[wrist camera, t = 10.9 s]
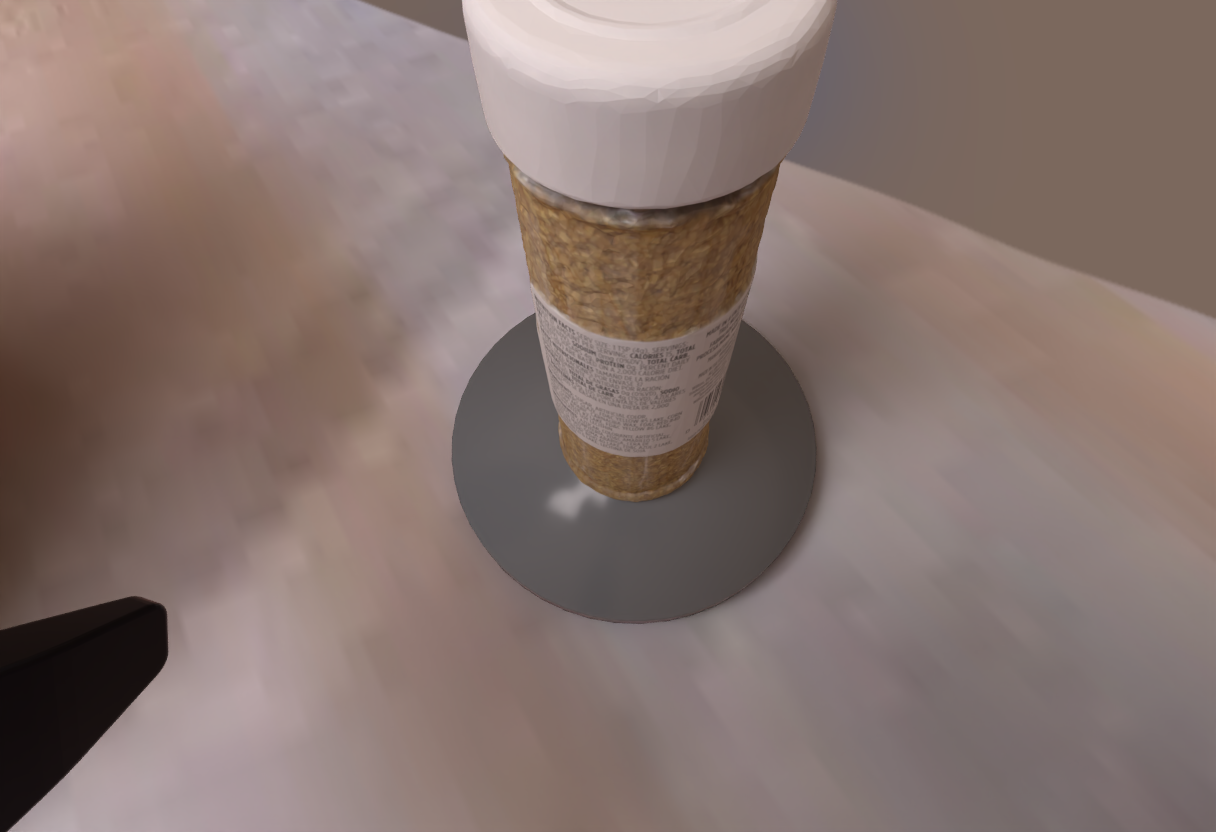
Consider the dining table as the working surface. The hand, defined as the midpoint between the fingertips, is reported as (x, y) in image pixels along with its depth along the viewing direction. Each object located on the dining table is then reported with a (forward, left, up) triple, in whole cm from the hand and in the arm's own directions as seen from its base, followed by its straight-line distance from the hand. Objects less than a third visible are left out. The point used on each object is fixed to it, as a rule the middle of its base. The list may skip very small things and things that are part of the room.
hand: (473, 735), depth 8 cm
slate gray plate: (+4, +8, -10) cm, 13 cm away
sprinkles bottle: (+4, +8, -9) cm, 12 cm away
